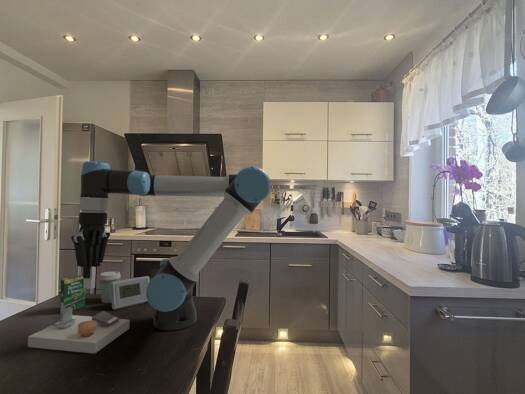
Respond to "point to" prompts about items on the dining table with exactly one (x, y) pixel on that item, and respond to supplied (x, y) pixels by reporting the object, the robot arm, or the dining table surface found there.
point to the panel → (77, 336)
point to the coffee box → (72, 293)
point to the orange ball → (87, 328)
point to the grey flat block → (105, 318)
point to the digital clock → (129, 292)
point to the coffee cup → (107, 284)
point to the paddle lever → (66, 318)
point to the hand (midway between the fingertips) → (89, 287)
